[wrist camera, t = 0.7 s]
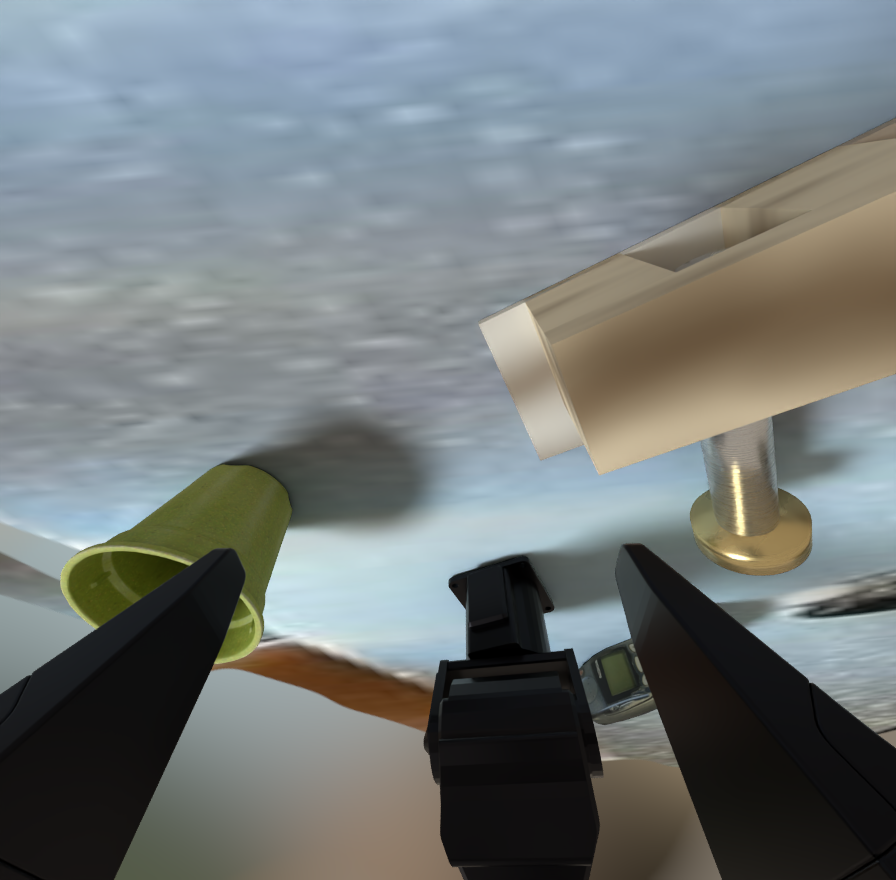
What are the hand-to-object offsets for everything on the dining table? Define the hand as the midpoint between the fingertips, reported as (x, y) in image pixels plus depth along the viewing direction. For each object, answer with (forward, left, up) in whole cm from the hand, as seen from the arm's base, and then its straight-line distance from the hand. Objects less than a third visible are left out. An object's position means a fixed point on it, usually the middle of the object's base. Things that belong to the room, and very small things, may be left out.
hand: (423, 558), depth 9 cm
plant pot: (-3, +17, -14) cm, 22 cm away
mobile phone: (-31, -3, -14) cm, 34 cm away
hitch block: (-4, -11, -14) cm, 18 cm away
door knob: (-8, -11, -13) cm, 19 cm away
